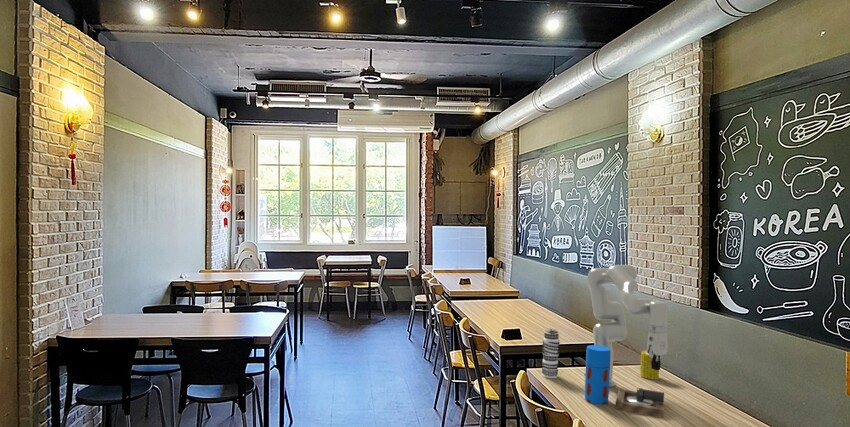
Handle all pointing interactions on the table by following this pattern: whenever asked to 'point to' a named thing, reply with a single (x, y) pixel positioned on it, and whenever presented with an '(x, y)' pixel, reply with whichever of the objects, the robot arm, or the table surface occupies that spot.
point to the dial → (646, 397)
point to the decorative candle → (550, 353)
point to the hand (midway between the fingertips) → (655, 369)
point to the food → (647, 367)
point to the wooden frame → (637, 405)
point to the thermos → (597, 374)
